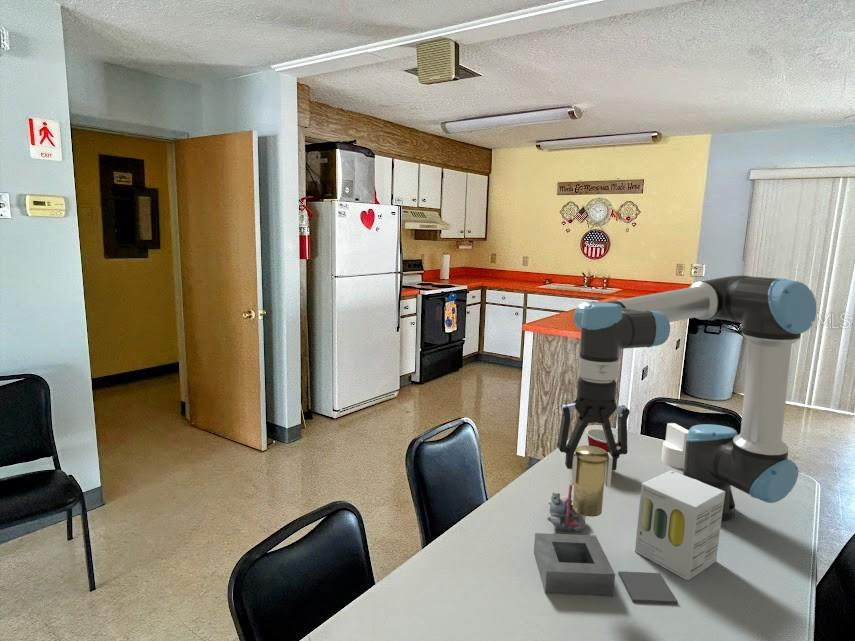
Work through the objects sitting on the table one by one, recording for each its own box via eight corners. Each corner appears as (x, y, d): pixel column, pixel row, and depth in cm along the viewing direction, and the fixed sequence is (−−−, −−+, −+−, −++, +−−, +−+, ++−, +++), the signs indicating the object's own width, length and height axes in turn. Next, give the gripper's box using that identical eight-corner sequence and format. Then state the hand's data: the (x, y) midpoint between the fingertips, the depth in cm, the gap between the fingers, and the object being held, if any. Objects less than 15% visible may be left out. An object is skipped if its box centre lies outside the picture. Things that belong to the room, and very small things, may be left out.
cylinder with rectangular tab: (655, 457, 178) (658, 424, 176) (678, 455, 180) (681, 422, 178) (673, 469, 169) (677, 434, 167) (697, 467, 171) (701, 432, 169)
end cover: (598, 501, 116) (602, 446, 114) (607, 518, 109) (612, 459, 107) (568, 500, 116) (572, 445, 114) (575, 516, 110) (579, 458, 107)
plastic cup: (624, 478, 162) (627, 441, 160) (588, 477, 162) (592, 440, 160) (612, 463, 173) (615, 428, 171) (579, 462, 173) (582, 427, 171)
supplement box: (632, 551, 124) (639, 482, 122) (663, 534, 132) (670, 468, 129) (687, 582, 114) (696, 507, 111) (717, 561, 121) (726, 490, 119)
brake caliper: (595, 532, 128) (567, 490, 128) (557, 549, 131) (529, 509, 132) (595, 509, 138) (569, 471, 139) (560, 526, 142) (534, 489, 143)
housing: (594, 555, 122) (595, 535, 122) (613, 596, 109) (615, 574, 108) (533, 552, 123) (535, 532, 122) (544, 593, 109) (546, 571, 108)
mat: (659, 575, 116) (659, 573, 116) (677, 604, 107) (677, 601, 107) (618, 573, 116) (618, 571, 116) (632, 602, 107) (633, 599, 107)
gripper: (552, 382, 105) (546, 489, 108) (652, 385, 104) (642, 493, 108) (545, 372, 112) (540, 473, 116) (639, 374, 111) (630, 476, 115)
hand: (589, 482), depth 112 cm, fingers closed on end cover, 7 cm apart
